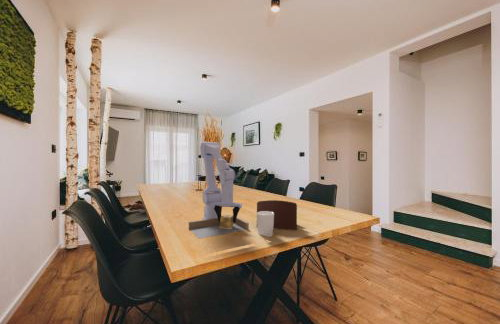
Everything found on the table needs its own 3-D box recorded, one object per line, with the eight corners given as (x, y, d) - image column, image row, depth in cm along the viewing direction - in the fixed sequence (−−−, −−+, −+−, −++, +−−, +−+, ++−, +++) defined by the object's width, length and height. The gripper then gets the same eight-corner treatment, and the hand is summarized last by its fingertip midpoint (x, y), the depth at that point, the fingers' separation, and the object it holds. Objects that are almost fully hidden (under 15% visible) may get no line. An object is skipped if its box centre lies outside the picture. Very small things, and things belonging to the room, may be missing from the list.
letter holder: (296, 230, 105) (297, 201, 104) (256, 227, 108) (256, 199, 108) (296, 224, 114) (296, 198, 114) (259, 222, 118) (259, 196, 118)
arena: (188, 230, 103) (188, 221, 103) (233, 222, 116) (233, 215, 116) (199, 240, 90) (199, 231, 90) (248, 231, 102) (248, 223, 102)
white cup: (276, 234, 99) (277, 212, 99) (269, 239, 92) (269, 216, 92) (261, 231, 103) (261, 210, 103) (253, 236, 96) (253, 213, 96)
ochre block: (220, 227, 104) (220, 217, 104) (223, 224, 109) (224, 214, 109) (230, 228, 103) (230, 217, 103) (233, 225, 108) (233, 215, 108)
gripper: (210, 194, 104) (210, 222, 104) (239, 196, 100) (238, 225, 100) (216, 192, 111) (215, 218, 111) (243, 193, 107) (242, 221, 107)
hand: (227, 221), depth 106 cm, fingers open, 7 cm apart
